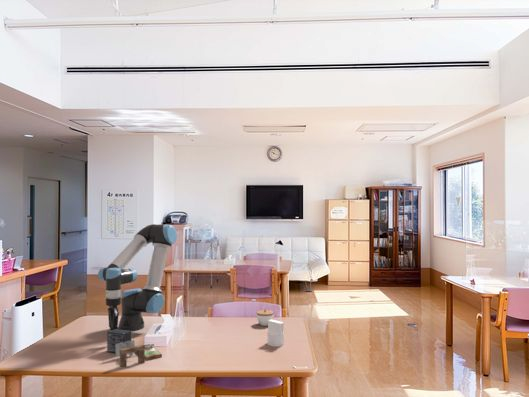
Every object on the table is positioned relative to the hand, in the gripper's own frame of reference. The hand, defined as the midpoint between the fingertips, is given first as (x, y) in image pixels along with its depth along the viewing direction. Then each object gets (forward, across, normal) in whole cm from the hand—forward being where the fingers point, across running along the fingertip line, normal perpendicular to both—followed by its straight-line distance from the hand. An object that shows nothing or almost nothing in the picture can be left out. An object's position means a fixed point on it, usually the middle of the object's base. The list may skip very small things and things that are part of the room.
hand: (113, 341), depth 224 cm
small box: (+2, +11, 0) cm, 12 cm away
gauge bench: (+2, +24, +5) cm, 24 cm away
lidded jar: (+2, +14, +89) cm, 90 cm away
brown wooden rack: (+1, +26, +5) cm, 26 cm away
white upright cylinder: (+2, +47, +73) cm, 87 cm away
